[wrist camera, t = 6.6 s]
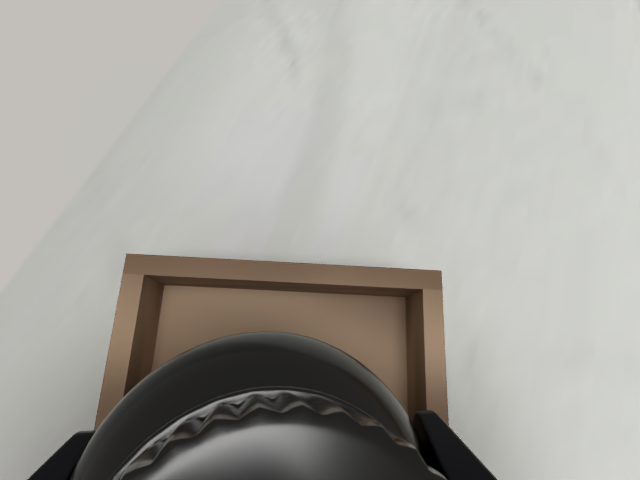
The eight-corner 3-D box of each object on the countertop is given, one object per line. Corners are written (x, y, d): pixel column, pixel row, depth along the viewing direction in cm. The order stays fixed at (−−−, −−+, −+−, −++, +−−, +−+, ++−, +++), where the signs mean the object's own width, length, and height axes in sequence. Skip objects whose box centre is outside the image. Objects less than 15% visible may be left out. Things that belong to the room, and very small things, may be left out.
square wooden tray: (409, 565, 18) (459, 657, 12) (127, 561, 17) (52, 657, 12) (404, 290, 21) (441, 270, 16) (169, 278, 20) (126, 253, 15)
